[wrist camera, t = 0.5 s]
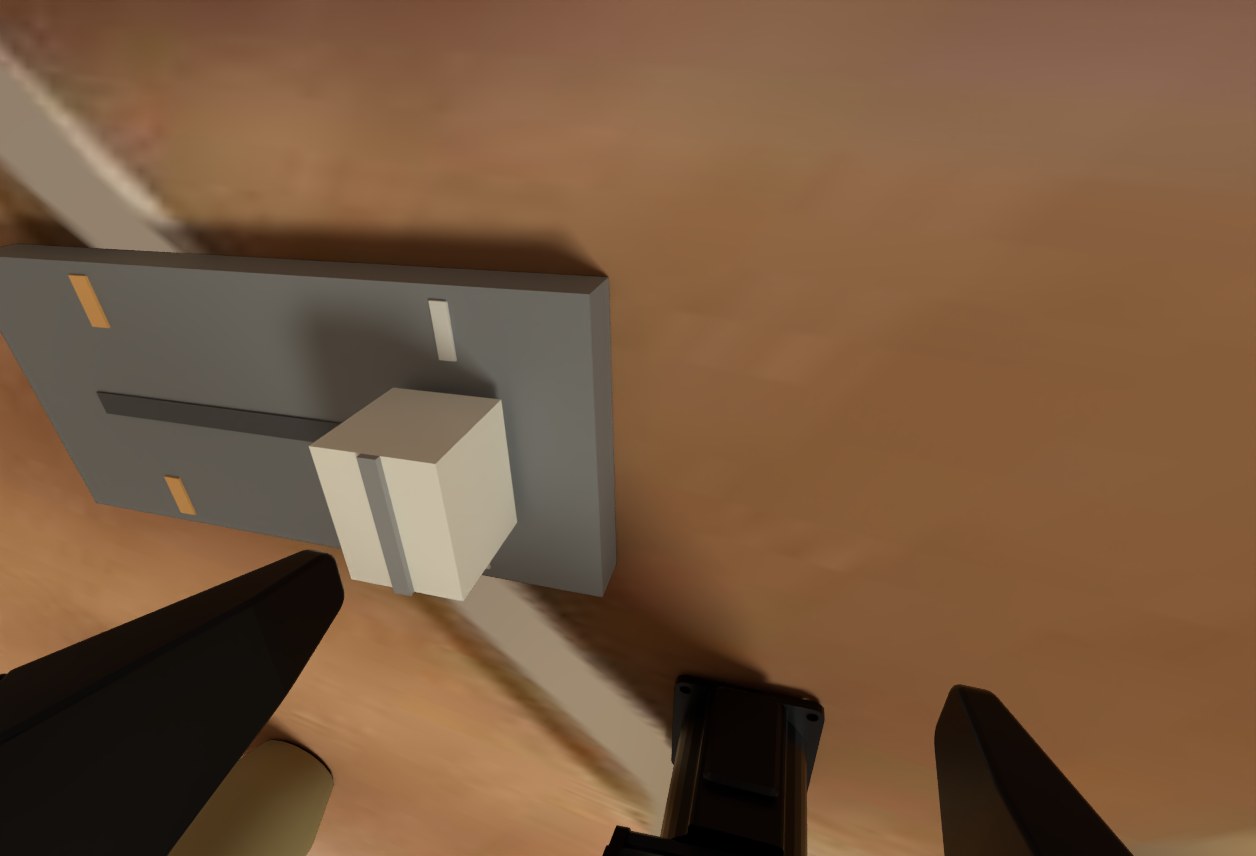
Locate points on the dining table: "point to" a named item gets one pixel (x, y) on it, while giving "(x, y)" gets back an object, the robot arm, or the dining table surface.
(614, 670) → the dining table surface
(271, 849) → the squeeze bottle
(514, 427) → the plate
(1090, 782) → the dining table surface
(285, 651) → the robot arm
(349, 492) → the cap
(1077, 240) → the dining table surface
